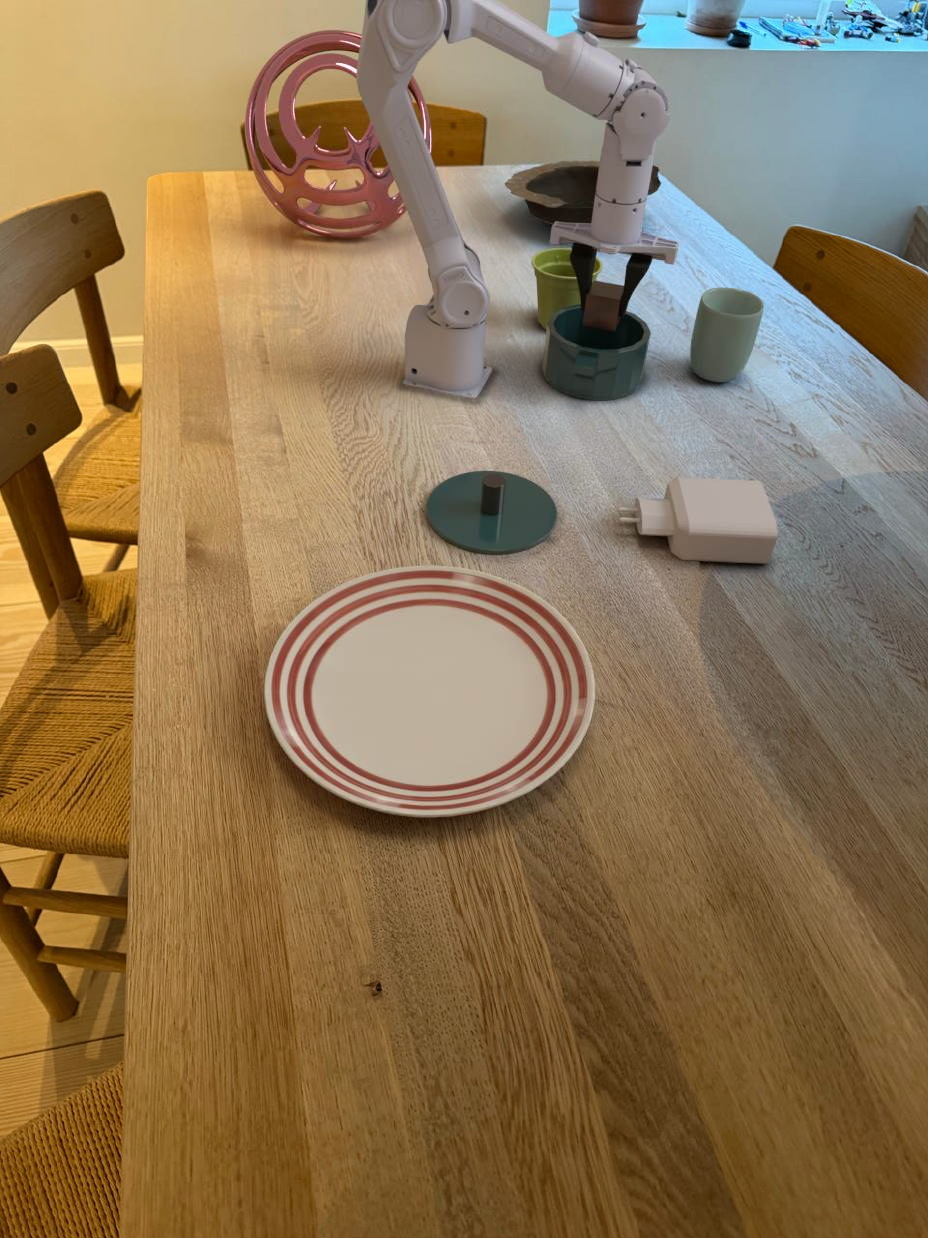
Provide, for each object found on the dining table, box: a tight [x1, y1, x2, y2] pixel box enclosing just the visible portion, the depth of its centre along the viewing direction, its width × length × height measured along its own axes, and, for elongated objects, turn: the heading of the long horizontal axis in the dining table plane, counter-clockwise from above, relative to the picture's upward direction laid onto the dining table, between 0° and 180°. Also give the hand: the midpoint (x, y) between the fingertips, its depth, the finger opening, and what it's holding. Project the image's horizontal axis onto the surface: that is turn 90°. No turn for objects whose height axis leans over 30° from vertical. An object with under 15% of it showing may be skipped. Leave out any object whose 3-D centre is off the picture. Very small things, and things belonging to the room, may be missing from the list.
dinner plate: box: [263, 564, 596, 818], centre depth 80 cm, size 27×27×3 cm
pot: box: [541, 304, 652, 401], centre depth 120 cm, size 13×18×6 cm
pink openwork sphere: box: [244, 29, 433, 240], centre depth 144 cm, size 28×28×27 cm
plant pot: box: [531, 247, 603, 330], centre depth 129 cm, size 9×9×9 cm
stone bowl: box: [504, 160, 662, 225], centre depth 154 cm, size 25×25×9 cm
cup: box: [689, 287, 765, 383], centre depth 120 cm, size 8×8×10 cm
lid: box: [425, 470, 558, 555], centre depth 98 cm, size 14×14×5 cm
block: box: [583, 280, 624, 331], centre depth 115 cm, size 4×4×4 cm
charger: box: [616, 476, 779, 565], centre depth 98 cm, size 5×9×15 cm
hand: (603, 310), depth 115 cm, fingers closed on block, 4 cm apart
